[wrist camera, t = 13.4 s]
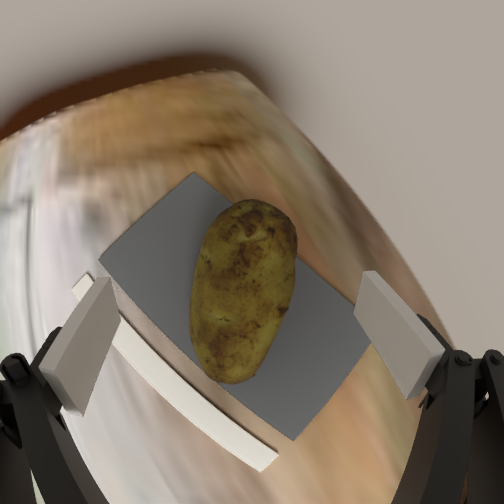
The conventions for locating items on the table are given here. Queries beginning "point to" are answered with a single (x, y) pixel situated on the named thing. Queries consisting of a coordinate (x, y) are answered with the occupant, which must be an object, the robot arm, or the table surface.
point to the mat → (292, 327)
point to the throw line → (184, 393)
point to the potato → (241, 289)
